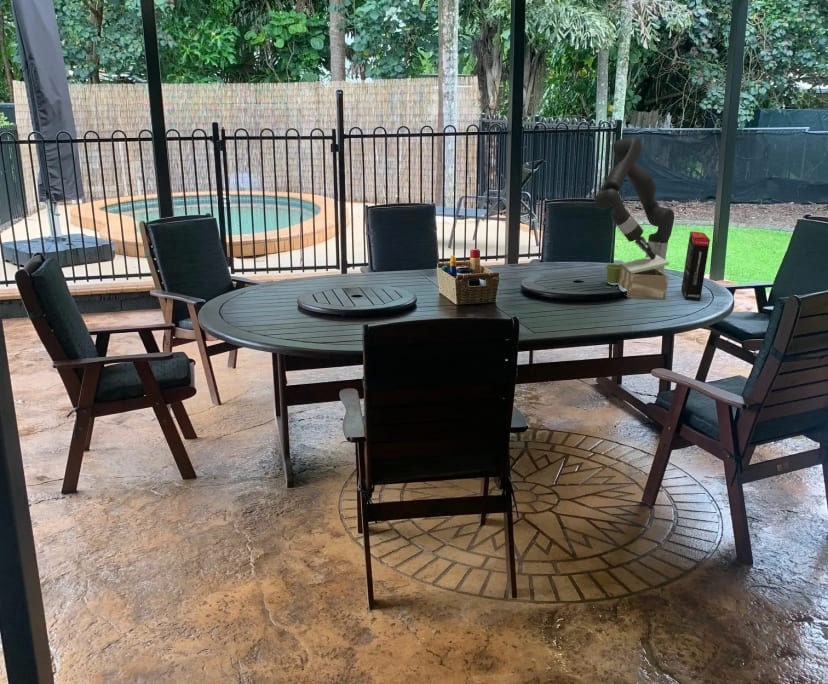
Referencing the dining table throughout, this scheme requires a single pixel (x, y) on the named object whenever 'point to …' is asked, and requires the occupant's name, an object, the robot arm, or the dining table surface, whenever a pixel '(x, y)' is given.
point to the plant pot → (613, 273)
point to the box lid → (643, 264)
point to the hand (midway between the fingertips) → (653, 257)
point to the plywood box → (644, 284)
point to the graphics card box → (695, 265)
